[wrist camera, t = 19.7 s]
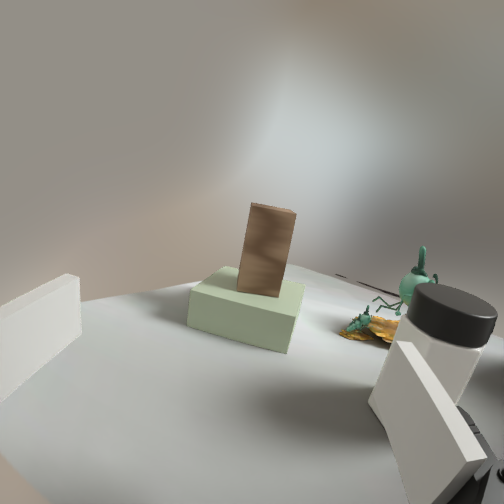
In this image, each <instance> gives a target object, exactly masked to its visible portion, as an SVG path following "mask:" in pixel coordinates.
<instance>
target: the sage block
mask: <svg viewBox="0 0 504 504" xmlns="http://www.w3.org/2000/svg"><path fill="white" fill-rule="evenodd" d="M238 273H239V269H236V268H232V267H228V266H224V267H222V268H221V269H219V270H218V271H217V272H215V273H214V274H212V275H211V276H209V277H208V278H206V279H205V280H204V281H202V282H201V283H199V284H198V285H196V286H195V287H193V288H192V289H191V290H190V297H189V307H188V316H187V326H189V327H192V328H195V329H198V330H201V331H205V332H208V333H211V334H215V335H218V336H221V337H225V338H228V339H232V340H235V341H239V342H242V343H246V344H250V345H253V346H257V347H261V348H265V349H269V350H273V351H276V352H280V353H284V354H287V351H288V348H289V345H290V341H291V338H292V335H293V332H294V328H295V325H296V322H297V318H298V315H299V311H300V307H301V303H302V298H303V294H304V290H305V285H304V284H300V283H296V282H291V281H287V280H282V285H281V289H280V294H279V298H278V297H271V296H265V295H259V294H253V293H247V292H241V291H237V279H238Z"/></svg>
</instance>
